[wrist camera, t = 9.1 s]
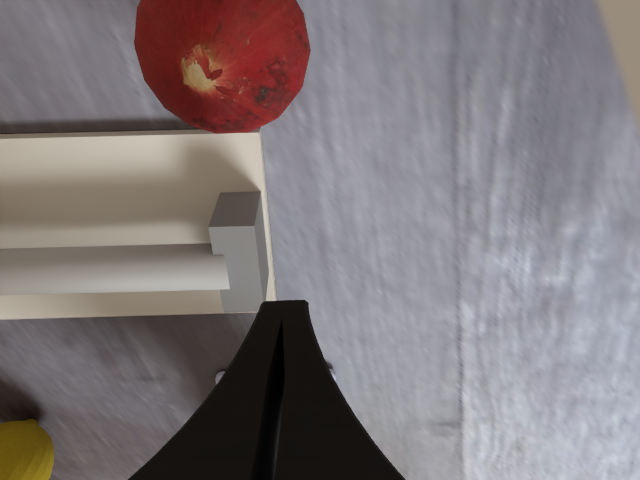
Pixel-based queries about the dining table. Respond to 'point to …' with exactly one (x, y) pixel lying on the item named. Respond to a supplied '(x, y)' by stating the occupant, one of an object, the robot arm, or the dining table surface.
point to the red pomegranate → (223, 59)
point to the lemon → (25, 451)
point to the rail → (133, 224)
